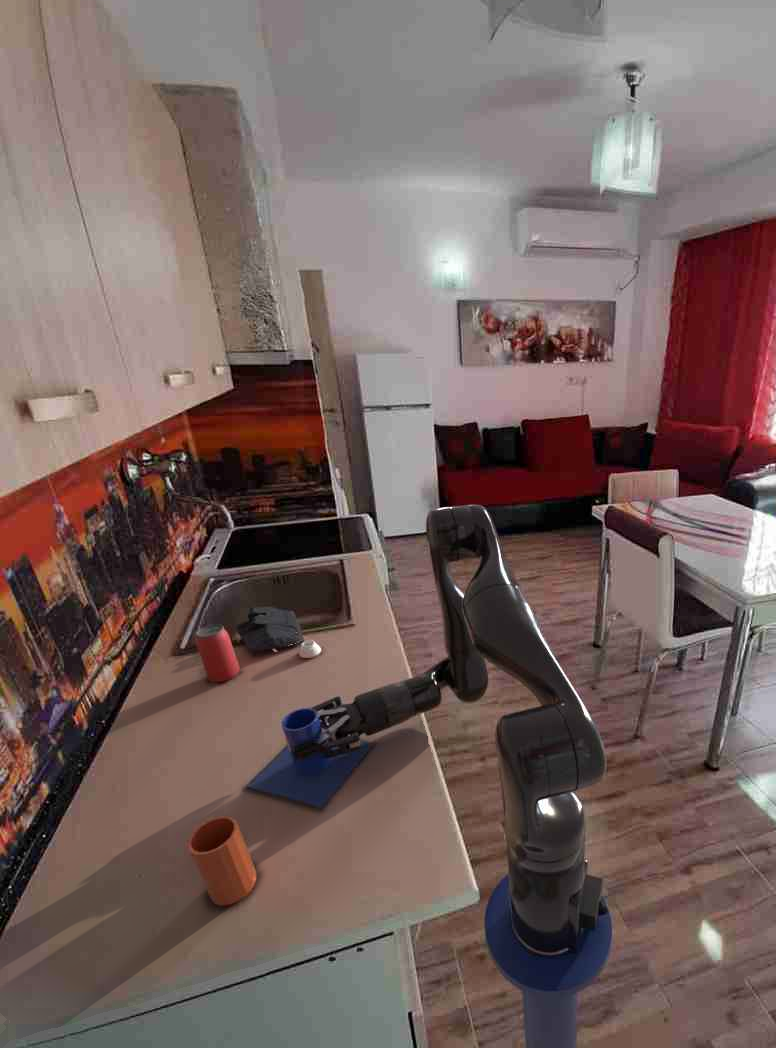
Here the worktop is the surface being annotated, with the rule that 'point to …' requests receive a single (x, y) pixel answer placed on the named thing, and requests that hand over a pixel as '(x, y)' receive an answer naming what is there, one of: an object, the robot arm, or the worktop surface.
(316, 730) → the blue cup
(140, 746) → the worktop surface
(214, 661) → the beer can
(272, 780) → the blue mat
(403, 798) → the worktop surface
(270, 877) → the worktop surface
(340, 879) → the worktop surface
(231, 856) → the terracotta cup
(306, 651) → the lidless jar
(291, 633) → the dark slate chunk
